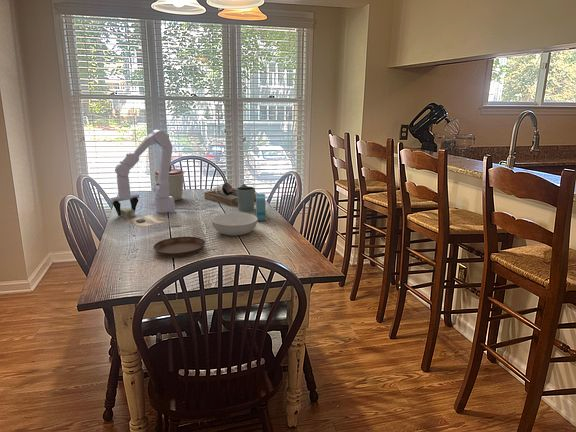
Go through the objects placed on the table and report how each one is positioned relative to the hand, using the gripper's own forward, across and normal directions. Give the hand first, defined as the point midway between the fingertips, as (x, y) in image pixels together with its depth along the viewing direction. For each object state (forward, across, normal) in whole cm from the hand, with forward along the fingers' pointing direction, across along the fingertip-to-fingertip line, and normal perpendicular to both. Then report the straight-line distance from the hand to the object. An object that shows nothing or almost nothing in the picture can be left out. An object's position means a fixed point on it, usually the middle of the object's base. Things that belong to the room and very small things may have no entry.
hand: (126, 213), depth 224 cm
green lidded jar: (+2, -55, +30) cm, 63 cm away
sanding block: (+3, 0, 0) cm, 3 cm away
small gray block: (+1, 0, +16) cm, 16 cm away
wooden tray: (+2, -63, +5) cm, 63 cm away
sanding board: (+2, -3, +16) cm, 16 cm away
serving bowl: (+2, -24, +59) cm, 64 cm away
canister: (+2, -38, -21) cm, 44 cm away
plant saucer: (+3, +7, +62) cm, 62 cm away
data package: (+2, -48, +50) cm, 69 cm away
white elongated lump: (+2, -66, +5) cm, 66 cm away
